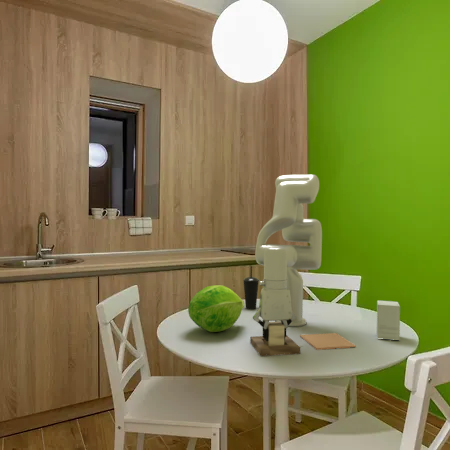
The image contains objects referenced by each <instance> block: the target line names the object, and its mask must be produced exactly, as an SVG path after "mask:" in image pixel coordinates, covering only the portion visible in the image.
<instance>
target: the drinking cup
mask: <svg viewBox="0 0 450 450" xmlns="http://www.w3.org/2000/svg"><path fill="white" fill-rule="evenodd" d="M249 275H250V276H247V277H243V279H242V281H243V288H244V289H243V290H244V303H245V309H247V310H255V309H257V303H258V293H259V292H258V291H259V283H260V279H259V278H257V277H255V276H253V266H252V265H250V274H249Z"/></svg>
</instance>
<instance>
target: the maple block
mask: <svg viewBox="0 0 450 450" xmlns="http://www.w3.org/2000/svg"><path fill="white" fill-rule="evenodd" d="M268 330H269V340H268V341H266V340H265V344H266V345H267V346H276V345H284V325H283V324H282V323H281V322H275V321H269V323H268Z"/></svg>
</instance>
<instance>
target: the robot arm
mask: <svg viewBox="0 0 450 450" xmlns="http://www.w3.org/2000/svg"><path fill="white" fill-rule="evenodd" d="M274 182H275V183H274V185H275V197H274V202H273V203H274V205H273V212H272V217H271V218H270V219H269V220H268V221H267V222H266V223H265V224H264V225H263V227H262V228H261V229H260V230H259V233H258V235H257V238H256V246H255V252H254V253H255V254H254V255H255V256H254V257H255V261H256V263H257V264H258V265H259V266H263V279H262V281H260V280H259V282H258V285H259V286H262V288H261V291H260V295H259V303H258V304H259V305H258V310H257V311H256V312H255V314H253V316H252V319H253V321H255V323H256V322H257V324H259V325H260V326H261V327H262V336H263V338H264V339H265V340H266V341H268V340H269V330H268V323H269V322H281V323H282V324H283V325H284V340H285V337H286V335H287V330H288V327H301V326H302V327H303V326H305V325H306V324H307V320H306V318H304V317H303V312H304V311H303V305H304V304H303V303H304V302H303V301H304V300H303V299H304V298H303V297H304V281H303V277H302V275H301V274H300V272H299V271H298V270H311V271H313V270H315V271H316V270H318V269H320V268H321V265H322V254H323V253H322V251H323V249H322V248H323V245H322V244H323V229H322V223H321V221H319V220H318V219H316V218H305V217H304V214H305V213H304V212H305V211H304V205H303V204H313V203H314V202H315V201H316V197H317V195H318V194H319V190H320V180H319V177H318V176H317V175H316V174H311V173H310V174H284V175H279V176H278V177H277V178H276V179H275V181H274ZM279 231H281V234H282V238H283V240H284V241H286V242H291V243H308V244H309V245H301V244H300V245H299V244H298V245H295V244H271V243H269V244H268V243H267V241H268V239H269V238H270V237H271V236H272V235H273V234H275V233H277V232H279ZM260 318H261V319H260Z"/></svg>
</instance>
